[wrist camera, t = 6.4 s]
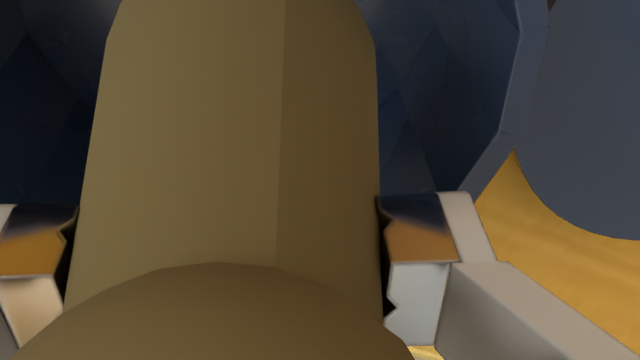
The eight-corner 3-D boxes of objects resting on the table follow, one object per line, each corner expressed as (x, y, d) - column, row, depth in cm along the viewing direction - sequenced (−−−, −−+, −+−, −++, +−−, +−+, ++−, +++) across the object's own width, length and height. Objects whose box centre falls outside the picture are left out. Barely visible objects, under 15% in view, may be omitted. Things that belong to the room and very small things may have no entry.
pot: (506, -306, 15) (640, -314, 10) (432, 165, 24) (482, 295, 19) (-105, -319, 14) (-322, -335, 9) (53, 179, 23) (-9, 321, 18)
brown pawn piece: (273, 220, 16) (279, 797, 8) (57, 104, 14) (-297, 774, 5) (432, 55, 14) (715, 657, 5) (200, -127, 11) (-38, 463, 2)
